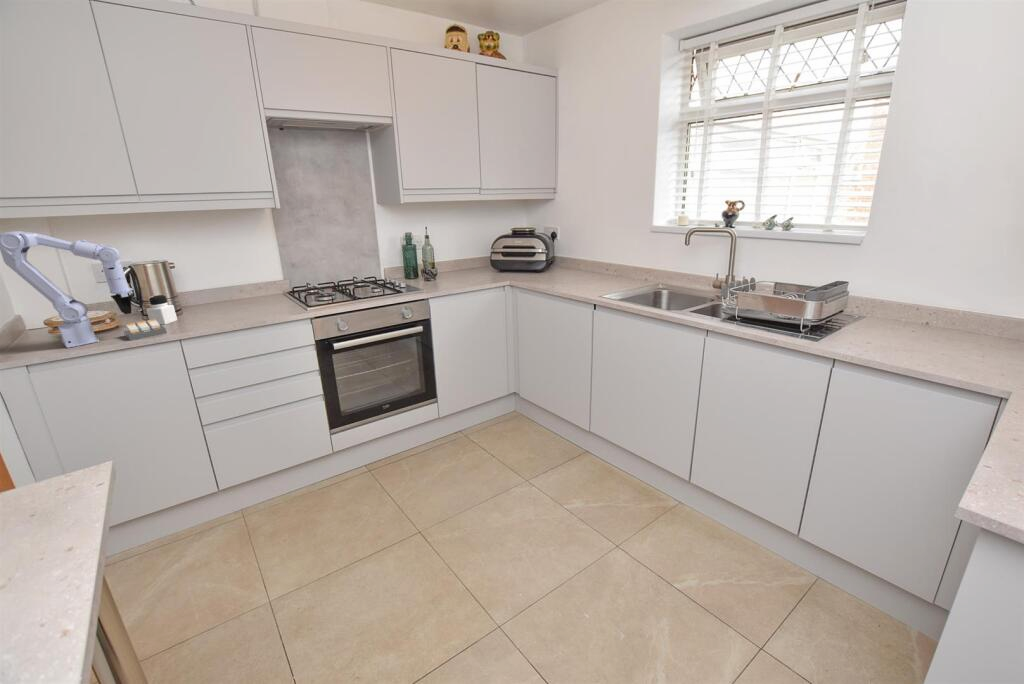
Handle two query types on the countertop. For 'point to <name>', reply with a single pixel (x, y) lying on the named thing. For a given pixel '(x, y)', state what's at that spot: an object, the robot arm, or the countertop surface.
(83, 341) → the robot arm
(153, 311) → the medicine bottle
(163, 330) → the console
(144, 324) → the rocker
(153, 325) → the rocker
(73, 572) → the countertop surface
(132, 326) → the rocker
